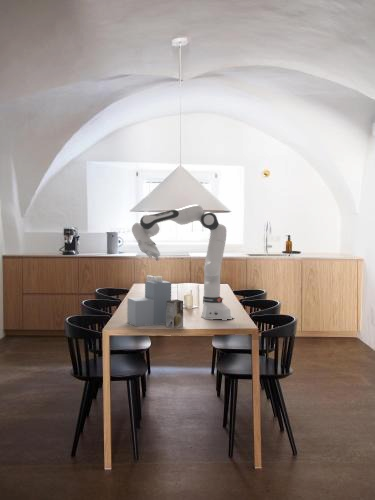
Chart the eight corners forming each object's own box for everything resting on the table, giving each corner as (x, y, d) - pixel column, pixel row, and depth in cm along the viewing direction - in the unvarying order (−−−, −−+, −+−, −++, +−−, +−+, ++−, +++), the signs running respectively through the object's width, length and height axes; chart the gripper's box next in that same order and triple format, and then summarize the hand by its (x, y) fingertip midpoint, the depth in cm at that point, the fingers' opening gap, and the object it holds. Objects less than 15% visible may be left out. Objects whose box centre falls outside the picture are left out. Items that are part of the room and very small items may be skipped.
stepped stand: (127, 322, 311) (127, 281, 310) (161, 319, 322) (162, 280, 321) (135, 326, 298) (135, 283, 297) (170, 323, 310) (171, 282, 308)
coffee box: (175, 324, 305) (175, 299, 304) (183, 326, 301) (183, 300, 300) (165, 327, 298) (166, 300, 297) (173, 328, 293) (174, 302, 293)
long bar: (163, 282, 309) (163, 276, 309) (158, 282, 307) (158, 276, 307) (150, 279, 327) (150, 273, 327) (145, 279, 325) (145, 274, 325)
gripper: (140, 236, 319) (149, 252, 313) (156, 243, 336) (165, 259, 330) (133, 242, 320) (142, 258, 314) (149, 249, 338) (158, 264, 332)
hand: (154, 259), depth 322 cm, fingers open, 8 cm apart
